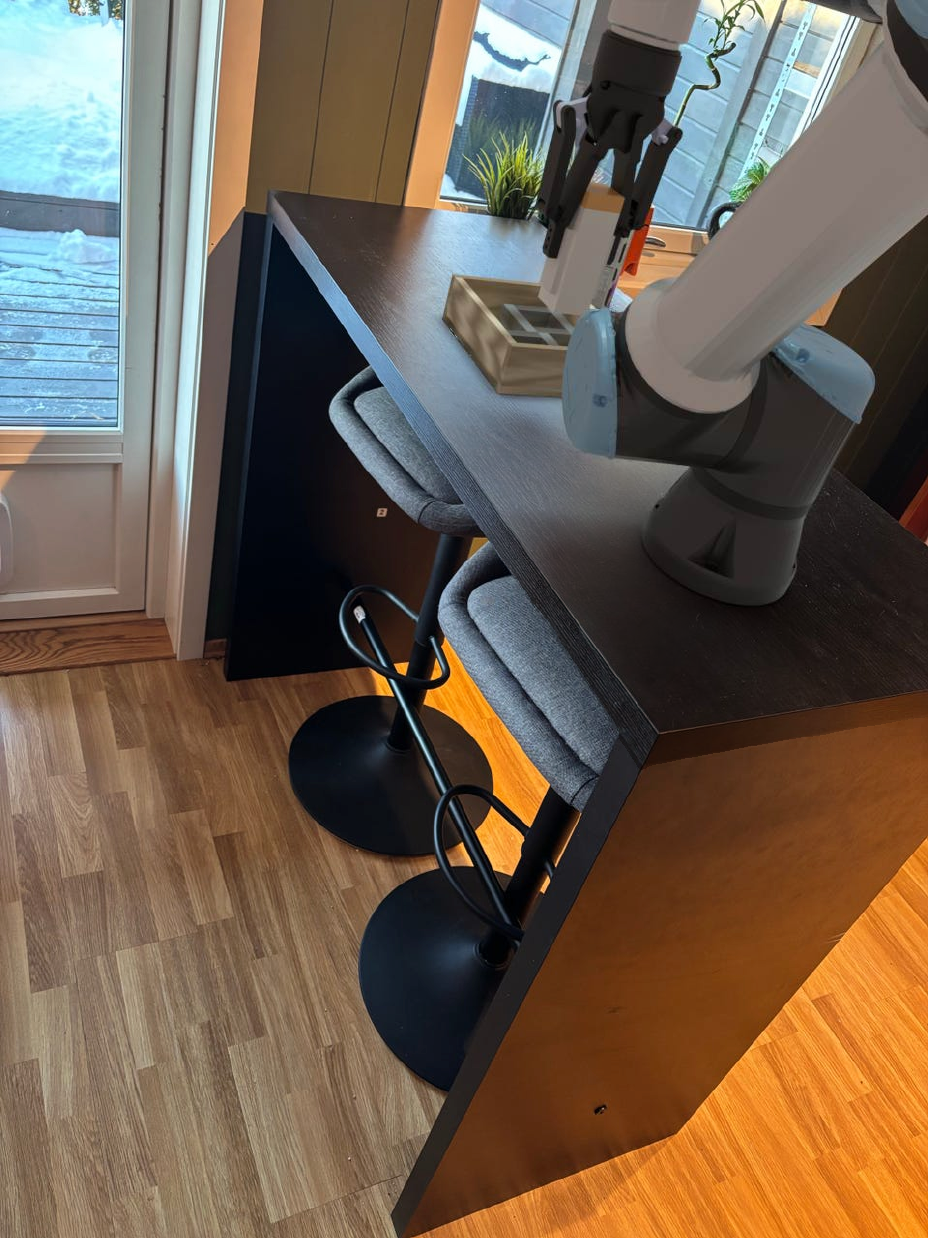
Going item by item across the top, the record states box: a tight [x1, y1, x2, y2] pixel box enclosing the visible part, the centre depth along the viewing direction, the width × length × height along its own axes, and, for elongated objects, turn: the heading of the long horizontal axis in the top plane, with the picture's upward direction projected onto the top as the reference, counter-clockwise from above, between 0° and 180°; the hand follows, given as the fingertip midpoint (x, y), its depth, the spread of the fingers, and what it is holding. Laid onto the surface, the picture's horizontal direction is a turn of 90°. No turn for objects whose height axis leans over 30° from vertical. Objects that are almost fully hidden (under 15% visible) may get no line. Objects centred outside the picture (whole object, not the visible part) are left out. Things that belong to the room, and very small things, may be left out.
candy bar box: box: [591, 230, 636, 309], centre depth 135 cm, size 11×5×16 cm, turn 164°
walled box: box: [441, 273, 596, 398], centre depth 120 cm, size 20×18×6 cm
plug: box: [538, 181, 625, 315], centre depth 97 cm, size 4×4×12 cm
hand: (567, 290), depth 99 cm, fingers closed on plug, 4 cm apart
